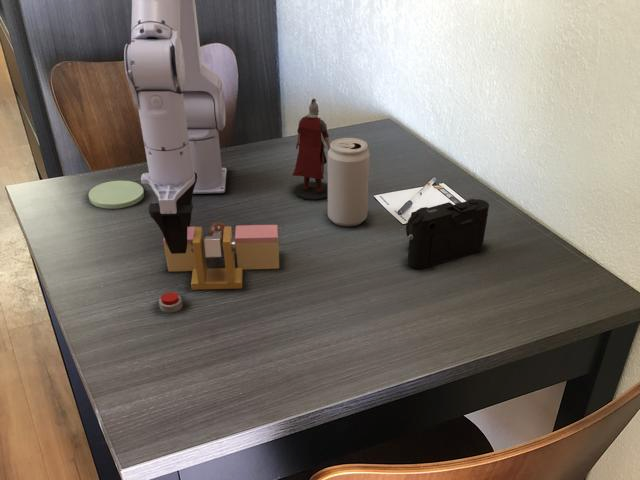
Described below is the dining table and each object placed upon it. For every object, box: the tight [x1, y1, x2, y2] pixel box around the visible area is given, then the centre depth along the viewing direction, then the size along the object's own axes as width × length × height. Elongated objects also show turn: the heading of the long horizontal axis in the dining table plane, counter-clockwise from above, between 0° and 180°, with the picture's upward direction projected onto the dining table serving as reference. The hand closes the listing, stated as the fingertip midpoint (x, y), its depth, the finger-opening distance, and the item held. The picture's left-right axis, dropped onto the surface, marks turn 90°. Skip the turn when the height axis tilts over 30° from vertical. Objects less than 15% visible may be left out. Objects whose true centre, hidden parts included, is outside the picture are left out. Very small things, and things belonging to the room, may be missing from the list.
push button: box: [158, 291, 183, 314], centre depth 98 cm, size 3×3×2 cm
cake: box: [234, 224, 280, 271], centre depth 106 cm, size 4×6×5 cm, turn 94°
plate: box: [88, 180, 145, 210], centre depth 122 cm, size 9×9×1 cm
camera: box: [405, 198, 490, 270], centre depth 108 cm, size 14×7×8 cm, turn 120°
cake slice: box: [162, 226, 196, 273], centre depth 105 cm, size 4×4×5 cm
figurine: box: [291, 98, 331, 201], centre depth 119 cm, size 7×7×15 cm
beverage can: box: [327, 137, 371, 227], centre depth 113 cm, size 6×6×12 cm
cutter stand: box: [190, 225, 244, 291], centre depth 101 cm, size 4×7×7 cm, turn 94°
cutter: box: [203, 221, 227, 258], centre depth 104 cm, size 13×3×3 cm, turn 4°
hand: (180, 239), depth 104 cm, fingers open, 7 cm apart
